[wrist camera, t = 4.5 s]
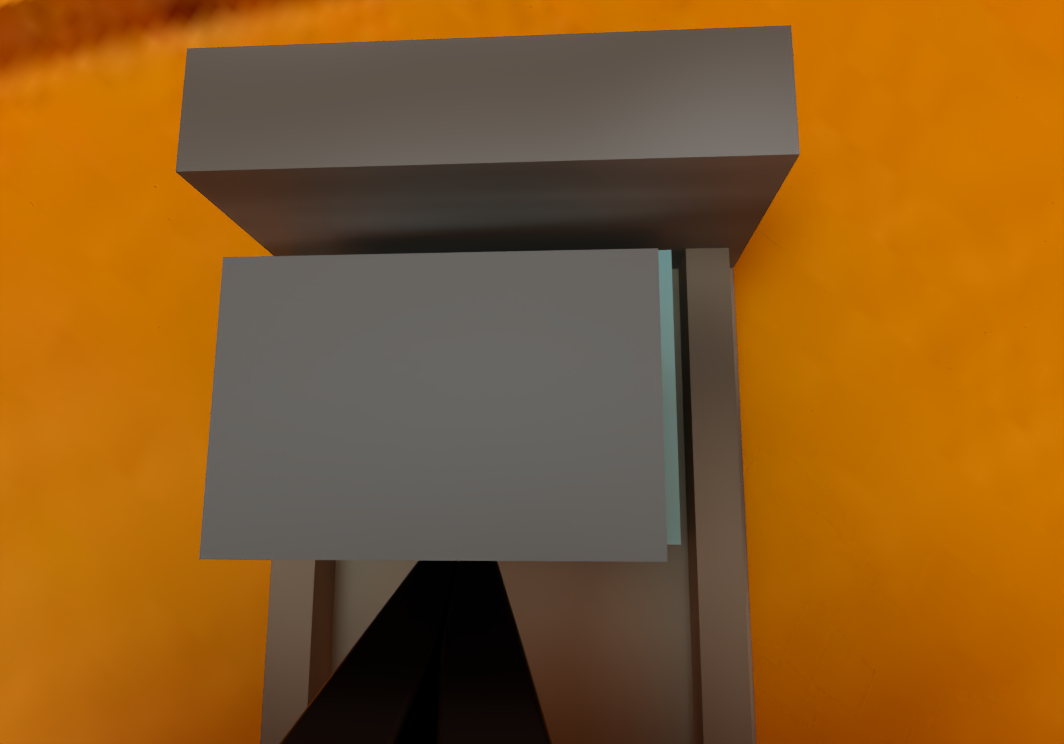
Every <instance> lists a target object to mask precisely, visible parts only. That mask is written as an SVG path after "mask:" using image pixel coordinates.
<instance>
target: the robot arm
mask: <svg viewBox="0 0 1064 744" xmlns="http://www.w3.org/2000/svg"><path fill="white" fill-rule="evenodd" d="M279 744H553V741H552V738H551V734H550V731H549V728H548V725H547V721H546V718H545V715H544V712H543V708H542V705H541V702H540V699H539V695H538V692H537V689H536V686H535V682H534V679H533V676H532V673H531V669H530V666H529V663H528V660H527V656H526V653H525V650H524V647H523V643H522V640H521V637H520V634H519V630H518V627H517V624H516V621H515V617H514V614H513V611H512V608H511V604H510V601H509V598H508V595H507V591H506V588H505V585H504V582H503V578H502V575H501V572H500V569H499V565H498V562H497V561H418V562H417V563H416V564H415V566H414V567H413V568H412V570H411V571H410V572H409V574H408V575H407V576H406V578H405V579H404V580H403V582H402V583H401V584H400V586H399V587H398V588H397V589H396V591H395V592H394V593H393V595H392V596H391V597H390V599H389V600H388V601H387V603H386V604H385V605H384V607H383V608H382V609H381V611H380V612H379V613H378V614H377V616H376V617H375V618H374V620H373V621H372V622H371V624H370V625H369V626H368V628H367V629H366V630H365V632H364V633H363V634H362V635H361V637H360V638H359V639H358V641H357V642H356V643H355V645H354V646H353V647H352V649H351V650H350V651H349V653H348V654H347V655H346V657H345V658H344V659H343V660H342V662H341V663H340V664H339V666H338V667H337V668H336V670H335V671H334V672H333V674H332V675H331V676H330V678H329V679H328V680H327V681H326V683H325V684H324V685H323V687H322V688H321V689H320V691H319V692H318V693H317V695H316V696H315V697H314V699H313V700H312V701H311V703H310V704H309V705H308V706H307V708H306V709H305V710H304V712H303V713H302V714H301V716H300V717H299V718H298V720H297V721H296V722H295V724H294V725H293V726H292V727H291V729H290V730H289V731H288V733H287V734H286V735H285V737H284V738H283V739H282V741H281V742H280V743H279Z"/></svg>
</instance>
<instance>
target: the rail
mask: <svg viewBox="0 0 1064 744" xmlns="http://www.w3.org/2000/svg"><path fill="white" fill-rule="evenodd" d="M799 154H800V152H799V137H798V122H797V108H796V93H795V78H794V63H793V48H792V33H791V25H790V26H764V27H738V28H712V29H686V30H660V31H634V32H608V33H582V34H556V35H530V36H504V37H478V38H452V39H426V40H400V41H373V42H347V43H321V44H295V45H269V46H243V47H217V48H191V49H187V57H186V68H185V79H184V89H183V100H182V111H181V122H180V132H179V143H178V154H177V164H176V172H177V173H178V174H179V175H180V176H182V177H183V178H184V179H185V180H186V181H187V182H189V183H190V184H191V185H192V186H193V187H194V188H196V189H197V190H198V191H199V192H200V193H201V194H203V195H204V196H205V197H206V198H207V199H208V200H210V201H211V202H212V203H213V204H214V205H215V206H217V207H218V208H219V209H220V210H221V211H222V212H224V213H225V214H226V215H227V216H228V217H229V218H231V219H232V220H233V221H234V222H235V223H236V224H238V225H239V226H240V227H241V228H242V229H243V230H245V231H246V232H247V233H248V234H249V235H250V236H252V237H253V238H254V239H255V240H256V241H257V242H259V243H260V244H261V245H262V246H263V247H264V248H266V249H267V250H268V251H269V252H270V253H271V254H273V255H274V256H311V255H360V254H409V253H457V252H506V251H555V250H603V249H652V248H658V250H671V257H672V288H673V318H674V349H675V379H676V409H677V440H678V470H679V500H680V531H681V545H679V544H667V561H668V562H610V561H497V562H498V565H499V569H500V572H501V575H502V578H503V582H504V585H505V588H506V591H507V595H508V598H509V601H510V604H511V608H512V611H513V614H514V617H515V621H516V624H517V627H518V630H519V634H520V637H521V640H522V643H523V647H524V650H525V653H526V656H527V660H528V663H529V666H530V669H531V673H532V676H533V679H534V682H535V686H536V689H537V692H538V695H539V699H540V702H541V705H542V708H543V712H544V715H545V718H546V721H547V725H548V728H549V731H550V734H551V738H552V741H553V744H756V730H755V709H754V689H753V668H752V647H751V626H750V606H749V585H748V564H747V543H746V523H745V502H744V481H743V461H742V440H741V419H740V398H739V378H738V357H737V336H736V315H735V295H734V274H733V267H734V266H735V264H736V262H737V260H738V259H739V257H740V255H741V254H742V252H743V250H744V248H745V247H746V245H747V243H748V242H749V240H750V238H751V237H752V235H753V233H754V231H755V230H756V228H757V226H758V225H759V223H760V221H761V219H762V218H763V216H764V214H765V213H766V211H767V209H768V207H769V206H770V204H771V202H772V201H773V199H774V197H775V195H776V194H777V192H778V190H779V189H780V187H781V185H782V183H783V182H784V180H785V178H786V177H787V175H788V173H789V171H790V170H791V168H792V166H793V165H794V163H795V161H796V160H797V158H798V156H799ZM418 561H419V560H272V563H271V579H270V595H269V611H268V627H267V643H266V659H265V675H264V691H263V707H262V723H261V739H260V744H279V743H280V742H281V741H282V739H283V738H284V737H285V735H286V734H287V733H288V731H289V730H290V729H291V727H292V726H293V725H294V724H295V722H296V721H297V720H298V718H299V717H300V716H301V714H302V713H303V712H304V710H305V709H306V708H307V706H308V705H309V704H310V703H311V701H312V700H313V699H314V697H315V696H316V695H317V693H318V692H319V691H320V689H321V688H322V687H323V685H324V684H325V683H326V681H327V680H328V679H329V678H330V676H331V675H332V674H333V672H334V671H335V670H336V668H337V667H338V666H339V664H340V663H341V662H342V660H343V659H344V658H345V657H346V655H347V654H348V653H349V651H350V650H351V649H352V647H353V646H354V645H355V643H356V642H357V641H358V639H359V638H360V637H361V635H362V634H363V633H364V632H365V630H366V629H367V628H368V626H369V625H370V624H371V622H372V621H373V620H374V618H375V617H376V616H377V614H378V613H379V612H380V611H381V609H382V608H383V607H384V605H385V604H386V603H387V601H388V600H389V599H390V597H391V596H392V595H393V593H394V592H395V591H396V589H397V588H398V587H399V586H400V584H401V583H402V582H403V580H404V579H405V578H406V576H407V575H408V574H409V572H410V571H411V570H412V568H413V567H414V566H415V564H416V563H417V562H418Z"/></svg>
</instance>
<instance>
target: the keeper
mask: <svg viewBox="0 0 1064 744" xmlns="http://www.w3.org/2000/svg"><path fill="white" fill-rule="evenodd" d="M667 544H679V545H681V531H680V500H679V470H678V440H677V409H676V379H675V349H674V318H673V288H672V257H671V250H658V248H652V249H603V250H555V251H506V252H457V253H409V254H360V255H311V256H262V257H223V267H222V280H221V293H220V305H219V318H218V330H217V343H216V356H215V368H214V381H213V393H212V406H211V419H210V431H209V444H208V456H207V469H206V482H205V494H204V507H203V519H202V532H201V545H200V557H199V559H228V560H419V561H610V562H668V561H667Z"/></svg>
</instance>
